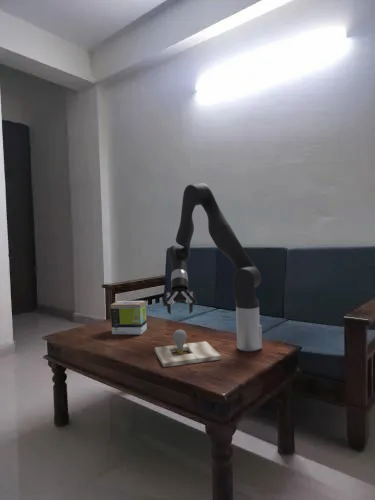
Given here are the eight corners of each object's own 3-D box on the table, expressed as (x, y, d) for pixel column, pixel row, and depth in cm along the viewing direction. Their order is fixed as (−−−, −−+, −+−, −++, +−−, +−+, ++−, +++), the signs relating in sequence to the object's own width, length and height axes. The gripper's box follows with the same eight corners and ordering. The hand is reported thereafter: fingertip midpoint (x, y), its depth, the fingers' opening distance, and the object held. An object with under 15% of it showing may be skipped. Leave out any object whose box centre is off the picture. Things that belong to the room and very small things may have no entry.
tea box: (147, 329, 179) (146, 300, 178) (141, 335, 169) (139, 304, 168) (118, 328, 182) (117, 300, 181) (111, 334, 172) (109, 304, 171)
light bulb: (176, 351, 145) (175, 327, 144) (188, 352, 143) (188, 328, 143) (171, 356, 140) (170, 331, 139) (184, 357, 138) (184, 332, 137)
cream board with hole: (206, 344, 152) (205, 341, 152) (220, 359, 135) (220, 355, 135) (155, 351, 146) (154, 347, 146) (163, 367, 129) (163, 363, 129)
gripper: (163, 277, 157) (162, 308, 146) (195, 275, 157) (197, 307, 146) (164, 287, 163) (163, 318, 152) (195, 285, 163) (197, 316, 152)
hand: (180, 312), depth 149 cm, fingers open, 8 cm apart
